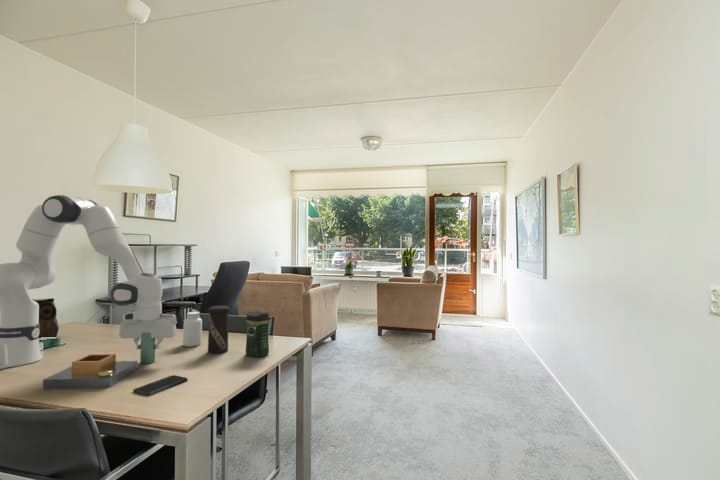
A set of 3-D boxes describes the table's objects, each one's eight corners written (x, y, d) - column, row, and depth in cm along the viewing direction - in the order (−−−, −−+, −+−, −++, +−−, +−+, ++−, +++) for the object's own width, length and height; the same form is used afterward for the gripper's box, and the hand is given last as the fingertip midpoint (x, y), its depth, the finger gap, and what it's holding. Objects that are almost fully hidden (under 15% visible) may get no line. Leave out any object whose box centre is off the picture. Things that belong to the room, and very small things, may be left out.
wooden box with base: (42, 389, 115) (43, 367, 115) (80, 370, 133) (80, 351, 133) (109, 387, 117) (110, 365, 117) (137, 369, 135) (138, 350, 135)
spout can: (137, 364, 140) (138, 325, 140) (144, 360, 145) (145, 322, 145) (151, 363, 141) (152, 325, 141) (157, 359, 146) (158, 322, 146)
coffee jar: (272, 354, 156) (272, 311, 157) (258, 358, 149) (259, 313, 150) (256, 350, 161) (257, 309, 162) (242, 355, 154) (243, 311, 155)
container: (202, 353, 156) (203, 307, 156) (215, 347, 165) (216, 304, 165) (220, 355, 154) (221, 308, 154) (232, 349, 163) (233, 305, 163)
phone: (189, 378, 124) (148, 394, 110) (189, 381, 124) (148, 397, 110) (173, 374, 127) (131, 389, 113) (172, 378, 127) (131, 393, 113)
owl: (59, 338, 177) (60, 298, 178) (24, 343, 168) (26, 300, 168) (53, 334, 185) (55, 295, 186) (20, 339, 176) (21, 298, 176)
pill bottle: (194, 347, 165) (195, 314, 165) (178, 346, 166) (179, 313, 167) (205, 343, 173) (205, 311, 173) (190, 342, 174) (191, 310, 175)
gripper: (179, 312, 148) (178, 346, 147) (126, 312, 145) (125, 347, 145) (173, 315, 141) (172, 350, 141) (117, 315, 139) (116, 351, 139)
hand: (147, 348), depth 143 cm, fingers closed on spout can, 5 cm apart
